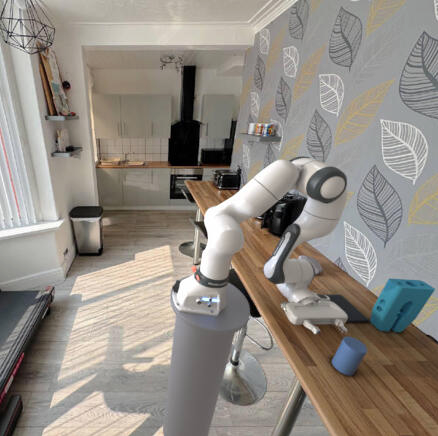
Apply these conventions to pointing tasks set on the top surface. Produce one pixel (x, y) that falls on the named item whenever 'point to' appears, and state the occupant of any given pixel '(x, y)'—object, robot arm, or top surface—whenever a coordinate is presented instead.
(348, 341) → the cylinder block
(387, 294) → the block
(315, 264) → the stone block
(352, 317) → the mat
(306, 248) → the top surface
